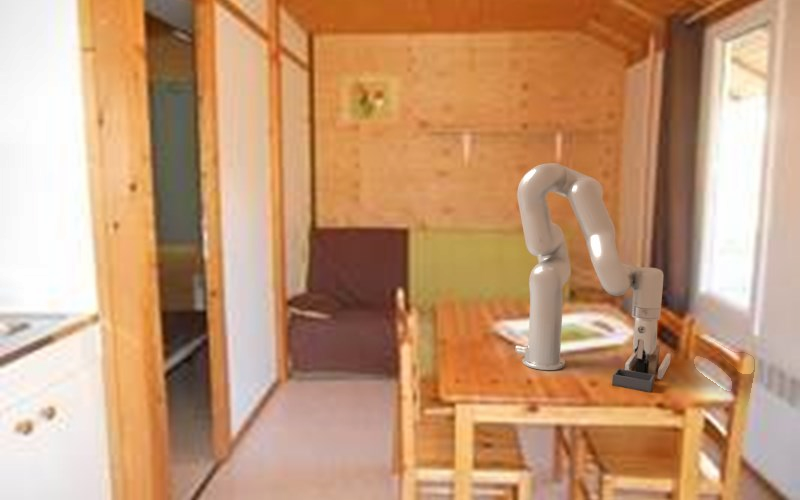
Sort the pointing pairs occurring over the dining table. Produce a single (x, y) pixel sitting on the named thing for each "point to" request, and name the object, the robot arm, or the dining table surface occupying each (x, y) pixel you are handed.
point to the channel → (661, 370)
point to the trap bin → (633, 380)
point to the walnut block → (654, 361)
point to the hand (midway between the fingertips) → (641, 374)
